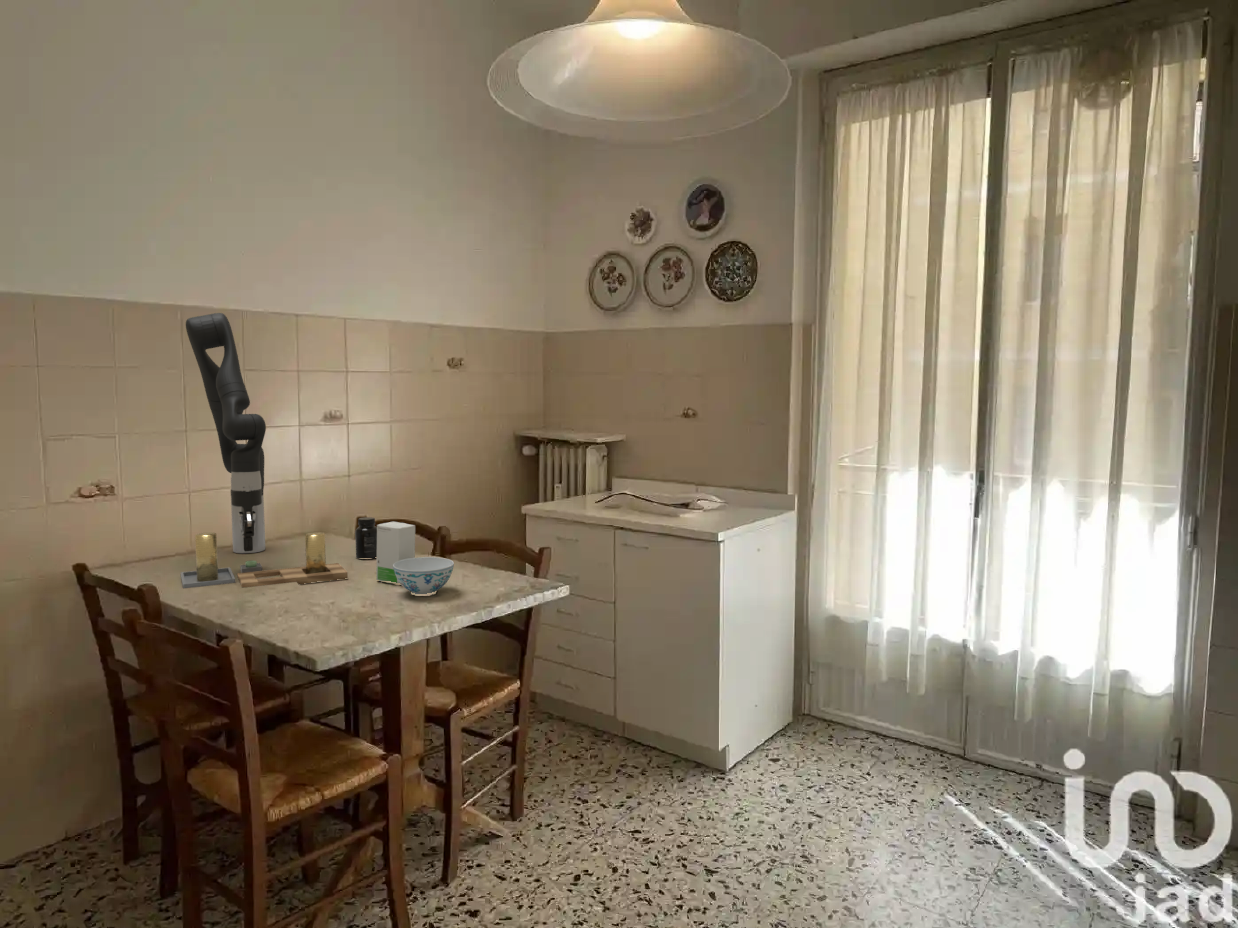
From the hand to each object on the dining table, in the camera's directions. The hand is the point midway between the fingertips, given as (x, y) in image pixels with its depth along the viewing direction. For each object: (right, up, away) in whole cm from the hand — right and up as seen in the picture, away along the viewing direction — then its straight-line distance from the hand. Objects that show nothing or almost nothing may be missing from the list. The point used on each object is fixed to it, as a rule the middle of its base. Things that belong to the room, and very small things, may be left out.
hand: (248, 550), depth 223 cm
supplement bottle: (+25, -5, +24) cm, 35 cm away
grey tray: (-7, -8, -8) cm, 13 cm away
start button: (0, -4, +1) cm, 4 cm away
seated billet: (+19, -7, -1) cm, 20 cm away
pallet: (+14, -8, -4) cm, 16 cm away
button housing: (0, -7, +1) cm, 7 cm away
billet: (-7, -7, -8) cm, 13 cm away
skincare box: (+41, -8, -4) cm, 42 cm away
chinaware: (+52, -10, -15) cm, 55 cm away
